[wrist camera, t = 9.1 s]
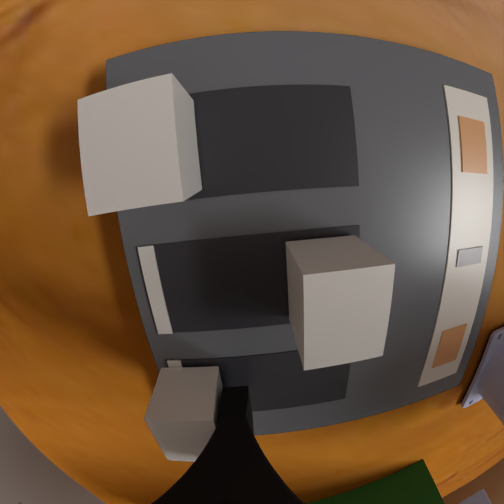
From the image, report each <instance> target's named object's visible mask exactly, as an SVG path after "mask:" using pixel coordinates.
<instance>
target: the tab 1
mask: <svg viewBox="0 0 504 504" xmlns="http://www.w3.org/2000/svg"><path fill="white" fill-rule="evenodd" d="M78 131H79V147H80V158H81V168H82V177H83V185H84V192H85V199H86V205H87V211H88V216H93V215H99V214H104V213H110V212H116V211H122V210H128V209H134V208H141V207H147V206H154V205H161V204H168V203H175V202H183V201H185V200H187V199H188V198H190V197H191V196H193V195H194V194H196V193H198V192H199V191H201V190H202V184H201V175H200V165H199V156H198V146H197V135H196V124H195V112H194V100H193V99H192V98H191V96H190V95H189V94H188V93H187V91H186V90H185V89H184V88H183V86H182V85H181V84H180V83H179V81H178V80H177V79H176V78H175V76H174V75H173V74H172V73H170V74H165V75H161V76H156V77H152V78H147V79H143V80H139V81H135V82H132V83H128V84H124V85H121V86H117V87H114V88H111V89H108V90H104V91H101V92H98V93H95V94H92V95H89V96H87V97H84V98H81V99H78Z"/></svg>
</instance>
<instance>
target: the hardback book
mask: <svg viewBox="0 0 504 504" xmlns="http://www.w3.org/2000/svg"><path fill="white" fill-rule="evenodd" d="M306 504H444V502H443V500H442V498H441V495H440V493H439V491H438V489H437V487H436V485H435V483H434V481H433V479H432V477H431V474H430V472H429V470H428V468H427V466H426V464H425V462H424V460H423V459H422V460H420V461H418V462H416V463H414V464H412V465H410V466H408V467H406V468H404V469H402V470H400V471H398V472H396V473H394V474H391V475H389V476H387V477H384V478H382V479H380V480H377V481H375V482H372V483H370V484H367V485H365V486H362V487H359V488H356V489H354V490H351V491H348V492H345V493H342V494H338V495H335V496H332V497H329V498H325V499H321V500H318V501H314V502H310V503H306Z"/></svg>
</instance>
